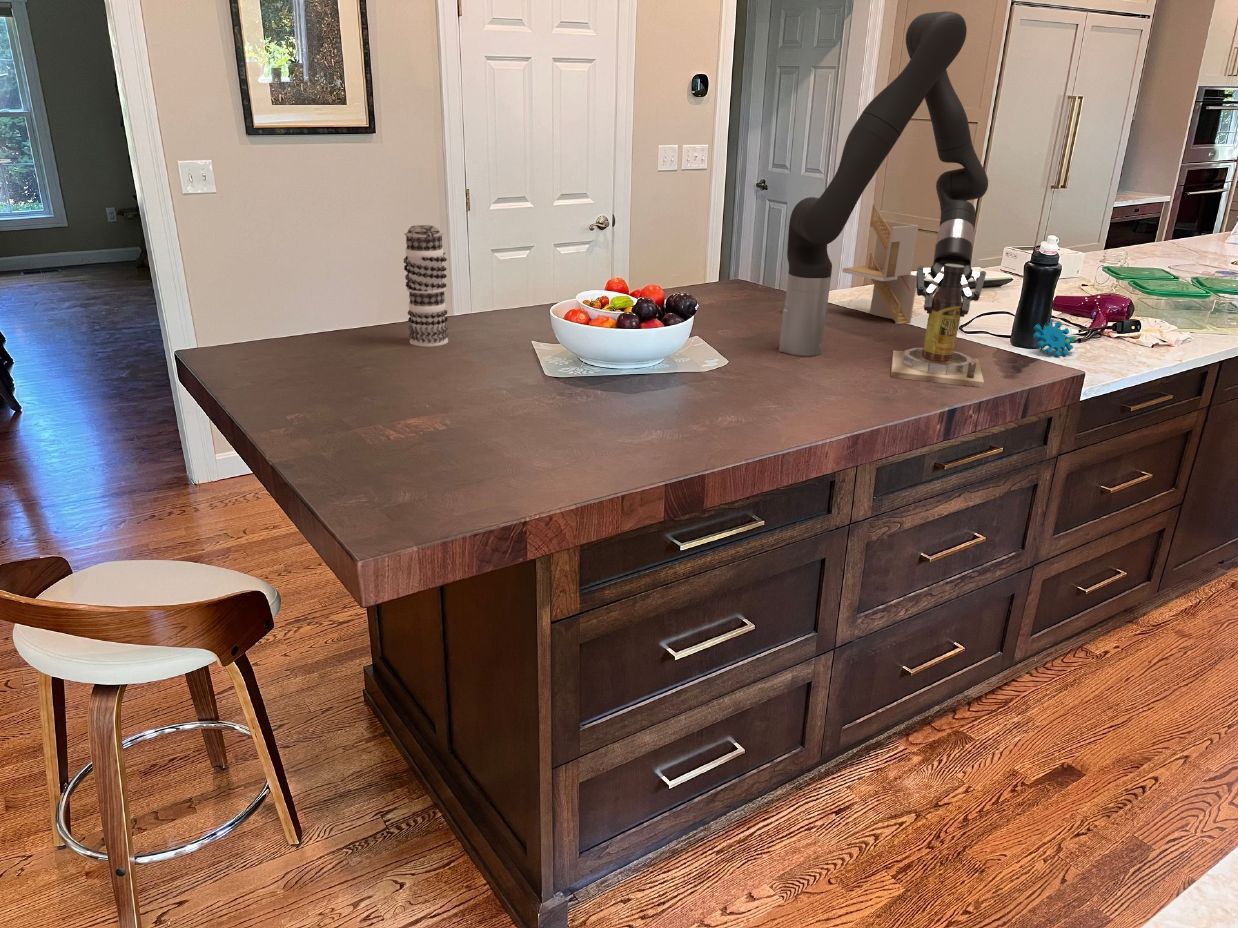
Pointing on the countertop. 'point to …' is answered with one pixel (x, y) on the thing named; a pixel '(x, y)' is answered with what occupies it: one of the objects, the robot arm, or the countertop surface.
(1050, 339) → the teal virus model
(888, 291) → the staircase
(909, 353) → the white segmented ring
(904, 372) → the maple board
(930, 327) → the sauce bottle
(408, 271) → the decorative candle
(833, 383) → the countertop surface
